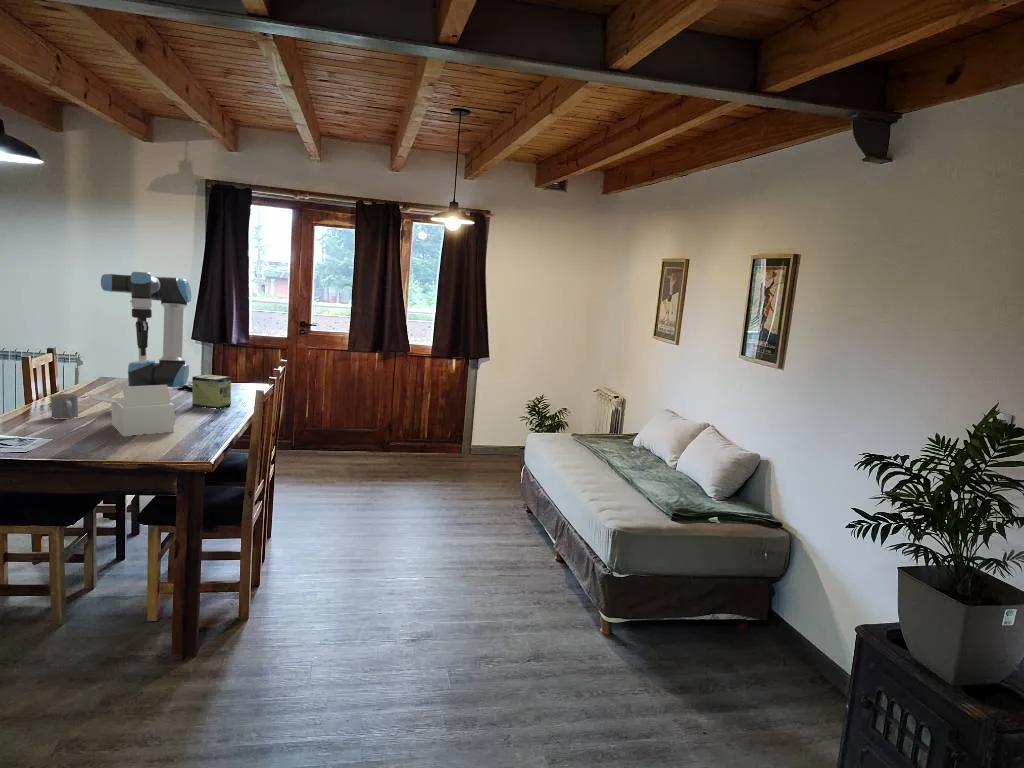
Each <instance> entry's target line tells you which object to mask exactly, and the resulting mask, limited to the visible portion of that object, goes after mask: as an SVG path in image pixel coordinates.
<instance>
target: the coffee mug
mask: <svg viewBox="0 0 1024 768" xmlns="http://www.w3.org/2000/svg"><path fill="white" fill-rule="evenodd" d="M78 399H79V398H78V394H77V393H76V394H75V393H56V394H52V395H50V404H51V409H50V410H51V418H52V417H54V418H74V417H77V418H78V417H79V404H78V403H79V401H78ZM74 419H75V418H74Z"/></svg>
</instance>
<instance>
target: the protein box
mask: <svg viewBox="0 0 1024 768" xmlns="http://www.w3.org/2000/svg"><path fill="white" fill-rule="evenodd" d="M191 380H192V383H191V385H192V391H191V392H192V394H191V395H192V396H191V397H192V402H191V403H192V406H191V407H193V406H196V407H195V408H201V407H206V408H205V409H209V408H216V409H215V410H217V409H219V410H221V409H220V408H222V409H225V408H224V407H226V408H228V407H227V406H230V405H231V406H232V400H231V399H232V377H231V376H224V375H223V376H222V375H214V374H202V375H196V376H192V379H191ZM231 406H230V407H231Z"/></svg>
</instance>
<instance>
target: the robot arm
mask: <svg viewBox="0 0 1024 768" xmlns="http://www.w3.org/2000/svg"><path fill="white" fill-rule="evenodd" d="M100 286H101V290H102V291H104V292H110V293H112V292H114V293H115V292H116V293H122V294H123V293H124V294H131V295H130V296H131V299H130V301H129V303H131V307H132V309H131V317H132V318H136V319H137V320H136V321H135V329H136V330H135V331H136V344H137V349H138V360H134V361H132V362H129V363H128V367H127V368H128V369H127V377H128V379H127V381H128V385H127V386H148V385H167V387H168V388H182V387H185V385H186V384H187V382H188V379H189V374H190V365H189V364H187V363H186V359H184V357H183V340H184V339H183V336H184V334H183V333H184V310H185V309H186V307H187V306H188V303H190V302H191V301H192V291H191V289H192V288H191V285H190V283H189V281H188V280H187V279H185V278H181V277H168V276H167V277H165V276H164V277H163V276H153V275H152V274H151V272H149V271H148V272H147V271H132V272H131V273H130V274H114V273H104V274H103V275H101V278H100ZM153 301H156V302H157V301H159V302H160V305H161V306H162V308H163V309H164V310H163V337H162V338H163V339H162V356H161V358H159V359H158V361H159V362H156V360H155V359H147V348H148V347H149V346H148V344H149V343H148V341H149V340H148V339H149V328H150V327H149V322H148V321H147V319H150V318H152V317H153V316H152V315H153V312H152V311H153V310H152V309H151V308H152V307H153V306H152V305H153V304H152V302H153Z"/></svg>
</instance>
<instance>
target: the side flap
mask: <svg viewBox="0 0 1024 768" xmlns="http://www.w3.org/2000/svg"><path fill="white" fill-rule="evenodd" d="M86 395H87V396H88V397H89V398H90V399H92V401H96V402H97V401H99V402H104V403H109V404H110V403H118V402H117V401H115V400H114V399H113V398H114V397H112V396H107V395H101V394H94V393H87V394H86Z"/></svg>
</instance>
